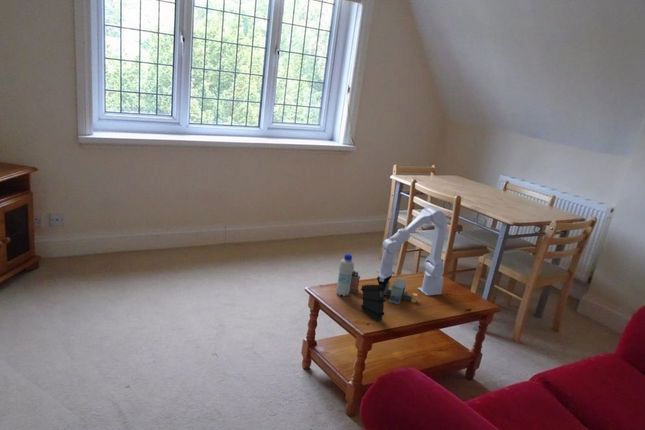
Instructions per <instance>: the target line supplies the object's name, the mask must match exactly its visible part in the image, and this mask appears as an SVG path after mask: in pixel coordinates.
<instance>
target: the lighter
mask: <svg viewBox="0 0 645 430" xmlns="http://www.w3.org/2000/svg"><path fill="white" fill-rule="evenodd" d="M360 280H361V275H359V271H356V270H355V269H353V272H352V277H351V283H350V291H349V292H355V293H357V292H358V291H359V284H360Z"/></svg>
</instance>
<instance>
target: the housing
mask: <svg viewBox="0 0 645 430" xmlns="http://www.w3.org/2000/svg"><path fill="white" fill-rule="evenodd" d="M407 282H408V281H407V280H405V279H400V278H396V279H395V281H394V282H393V284H392V286H391V289H390V290H391V295H389V299H388V300H387V301H388V303H391V304H394V305H400V304H401V301H402V299H401V298H402V293H404V294H406V290H407V289H406V287H407Z"/></svg>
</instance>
